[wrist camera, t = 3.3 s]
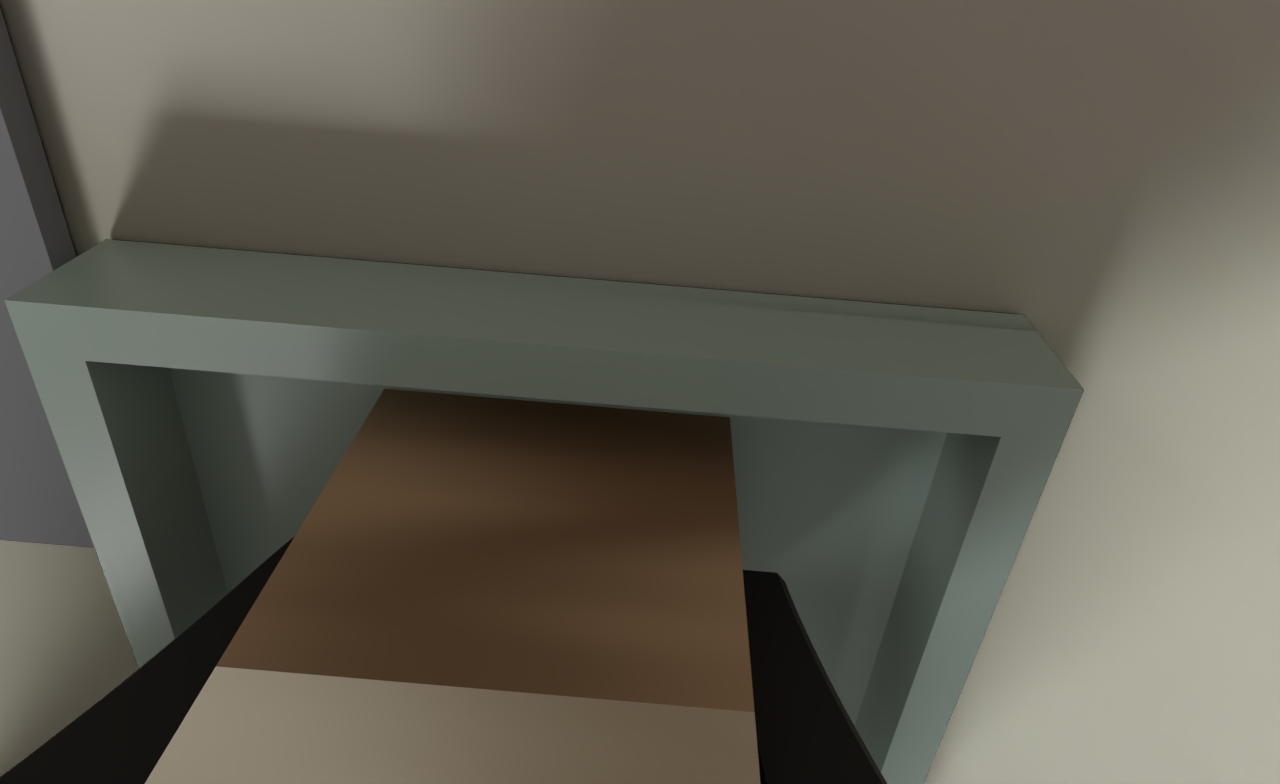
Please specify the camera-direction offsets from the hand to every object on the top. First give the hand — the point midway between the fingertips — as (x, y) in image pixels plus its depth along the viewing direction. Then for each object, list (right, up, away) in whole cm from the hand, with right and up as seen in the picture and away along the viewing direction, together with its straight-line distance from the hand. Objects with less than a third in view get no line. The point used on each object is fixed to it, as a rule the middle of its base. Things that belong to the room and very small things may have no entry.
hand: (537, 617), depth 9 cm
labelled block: (0, +1, +1) cm, 1 cm away
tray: (0, -2, +3) cm, 4 cm away
